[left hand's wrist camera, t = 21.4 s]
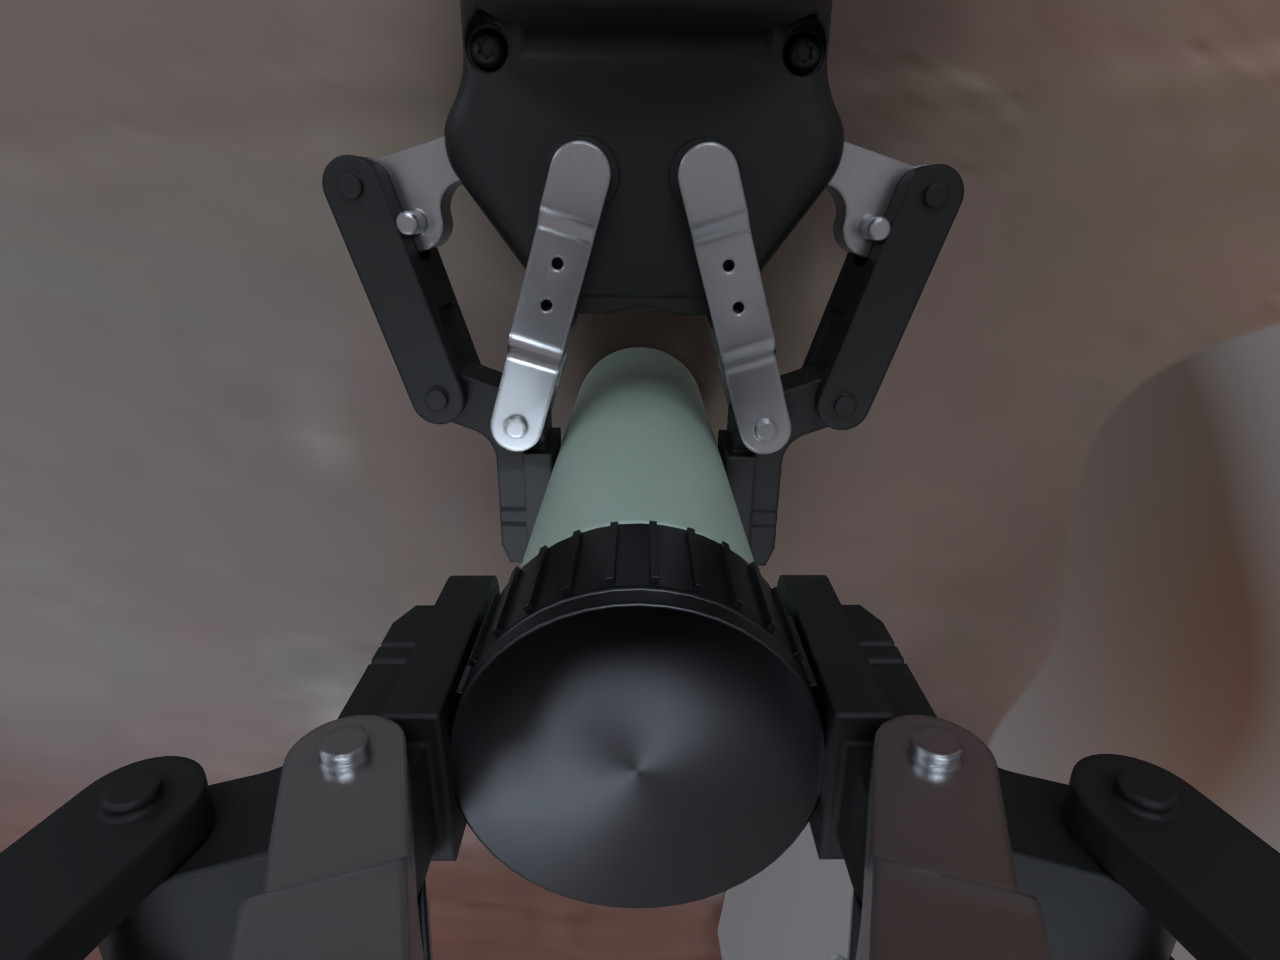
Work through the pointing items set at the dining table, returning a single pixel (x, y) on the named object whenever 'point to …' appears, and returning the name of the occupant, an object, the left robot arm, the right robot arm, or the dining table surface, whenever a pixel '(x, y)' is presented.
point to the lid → (637, 720)
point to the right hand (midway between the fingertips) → (639, 568)
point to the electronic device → (789, 909)
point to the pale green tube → (639, 457)
